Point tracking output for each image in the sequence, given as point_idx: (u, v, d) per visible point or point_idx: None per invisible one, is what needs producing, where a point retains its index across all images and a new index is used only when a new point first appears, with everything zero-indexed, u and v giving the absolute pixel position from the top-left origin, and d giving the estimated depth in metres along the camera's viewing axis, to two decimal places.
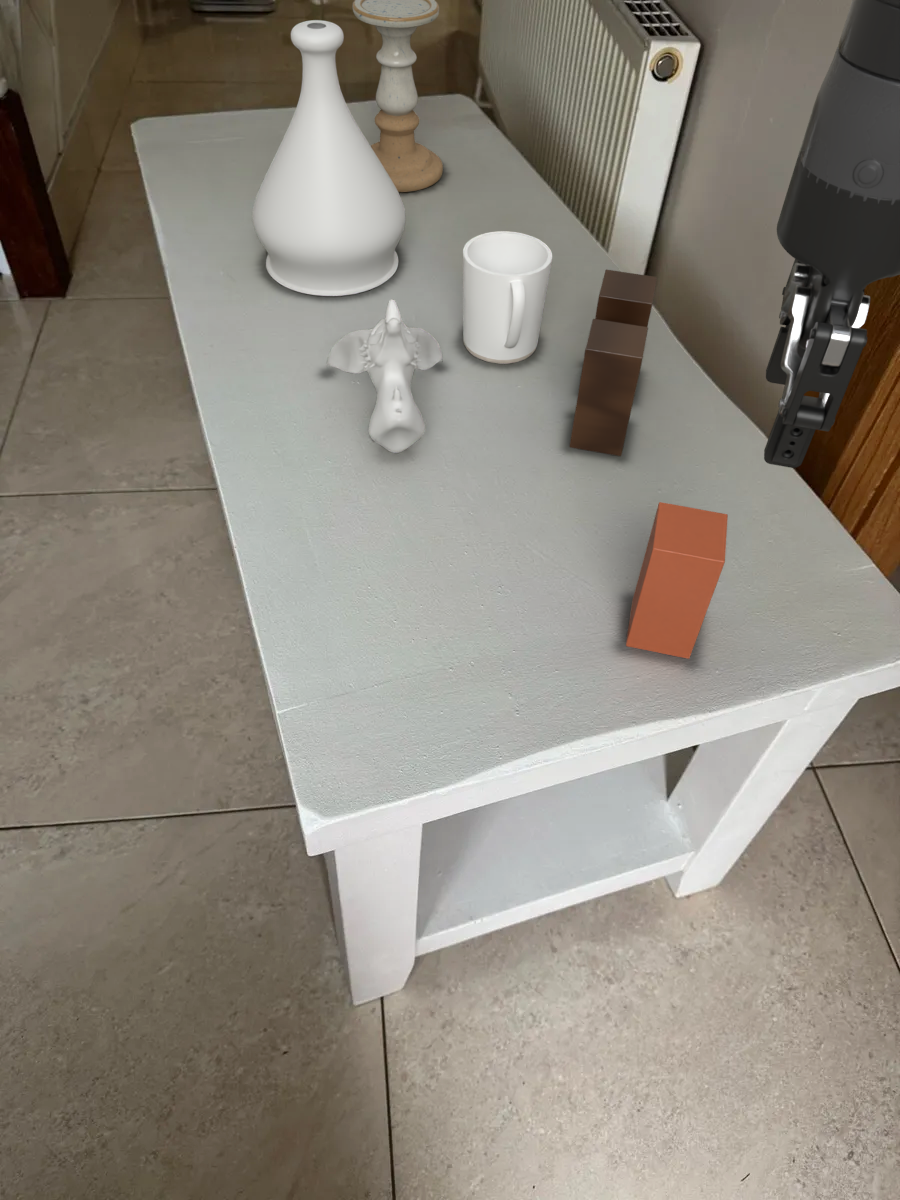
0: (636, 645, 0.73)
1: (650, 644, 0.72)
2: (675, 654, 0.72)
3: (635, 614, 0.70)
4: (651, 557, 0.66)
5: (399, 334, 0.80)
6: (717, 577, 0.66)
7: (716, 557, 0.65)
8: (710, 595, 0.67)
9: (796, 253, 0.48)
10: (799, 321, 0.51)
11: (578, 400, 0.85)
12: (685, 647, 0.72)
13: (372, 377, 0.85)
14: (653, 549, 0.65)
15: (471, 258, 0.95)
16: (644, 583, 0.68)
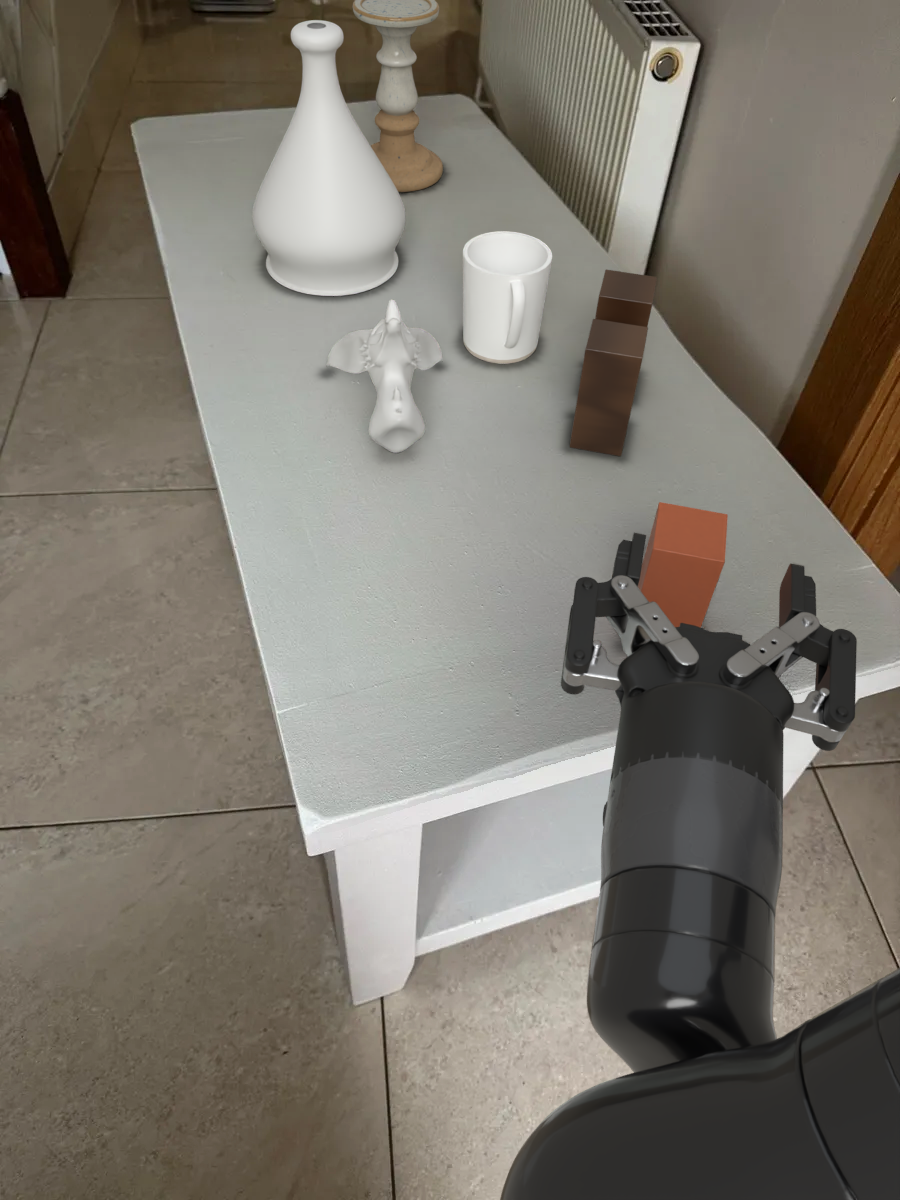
0: None
1: None
2: None
3: None
4: (651, 557, 0.66)
5: (399, 334, 0.80)
6: (717, 577, 0.66)
7: (716, 557, 0.65)
8: (710, 595, 0.67)
9: None
10: None
11: (578, 400, 0.85)
12: None
13: (372, 377, 0.85)
14: (653, 549, 0.65)
15: (471, 258, 0.95)
16: (644, 583, 0.68)
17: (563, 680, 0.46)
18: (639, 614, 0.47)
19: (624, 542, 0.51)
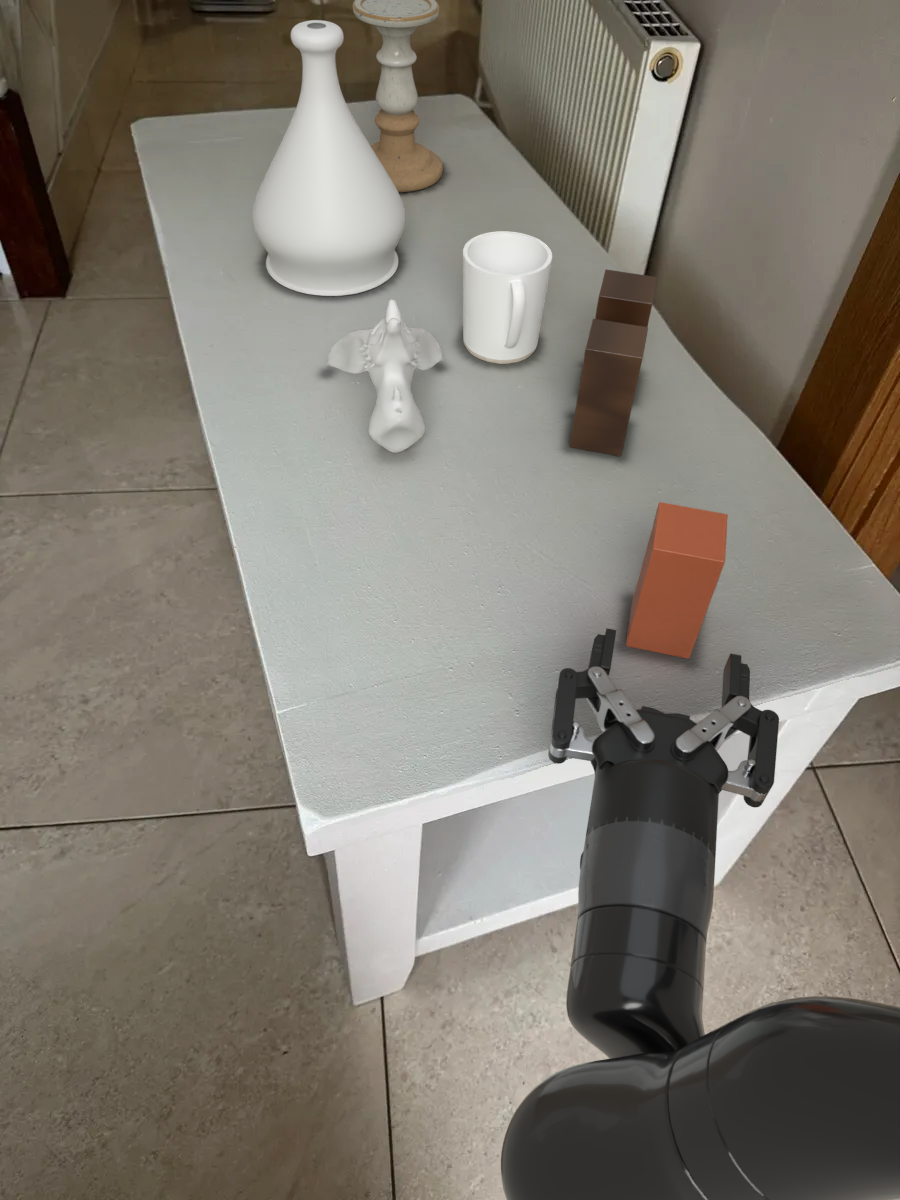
0: (636, 645, 0.73)
1: (650, 644, 0.72)
2: (675, 654, 0.72)
3: (635, 614, 0.70)
4: (651, 557, 0.66)
5: (399, 334, 0.80)
6: (717, 577, 0.66)
7: (716, 557, 0.65)
8: (710, 595, 0.67)
9: None
10: None
11: (578, 400, 0.85)
12: (685, 647, 0.72)
13: (372, 377, 0.85)
14: (653, 549, 0.65)
15: (471, 258, 0.95)
16: (644, 583, 0.68)
17: (550, 753, 0.59)
18: (609, 700, 0.60)
19: (599, 636, 0.64)
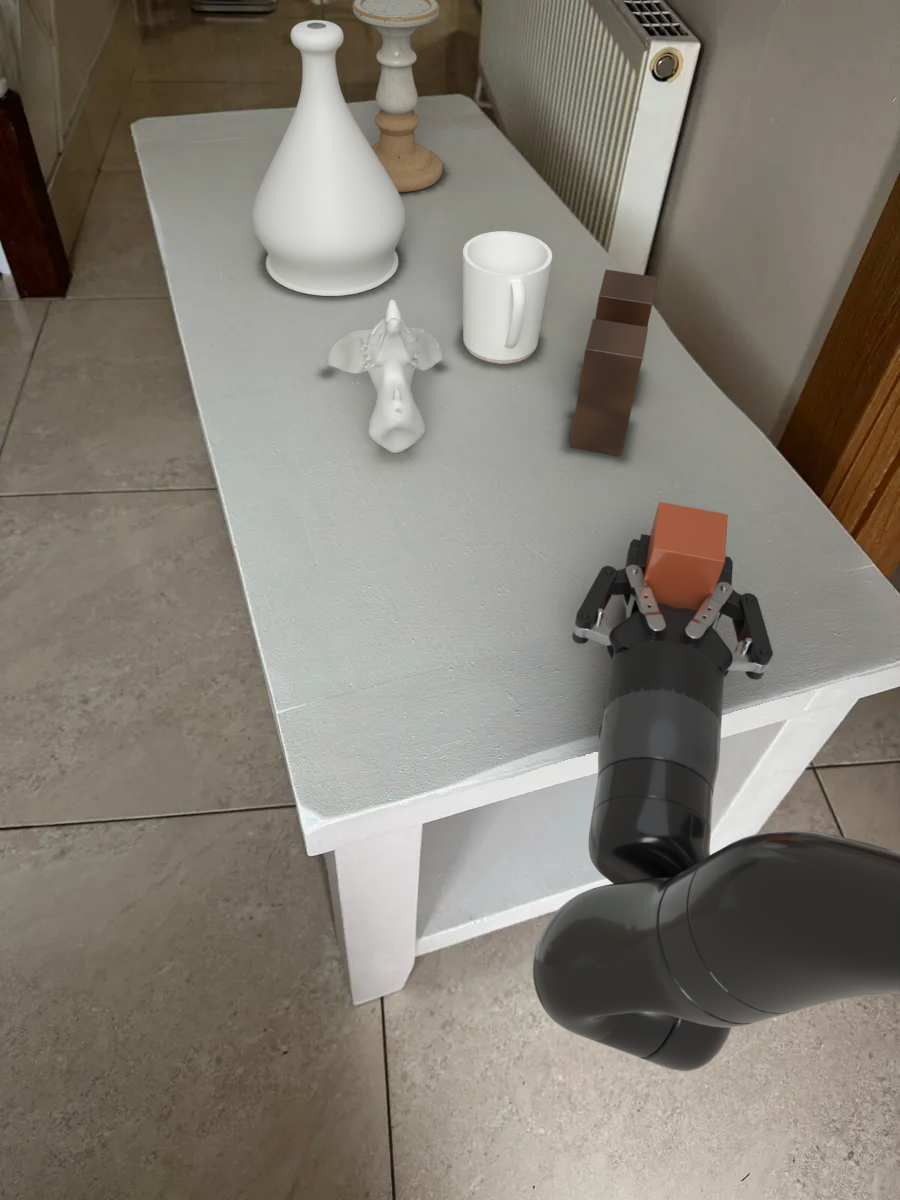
0: None
1: None
2: None
3: None
4: (651, 557, 0.66)
5: (399, 334, 0.80)
6: (717, 577, 0.66)
7: (716, 557, 0.65)
8: None
9: None
10: None
11: (578, 400, 0.85)
12: None
13: (372, 377, 0.85)
14: (653, 549, 0.65)
15: (471, 258, 0.95)
16: None
17: (573, 632, 0.66)
18: (636, 592, 0.66)
19: (634, 541, 0.71)
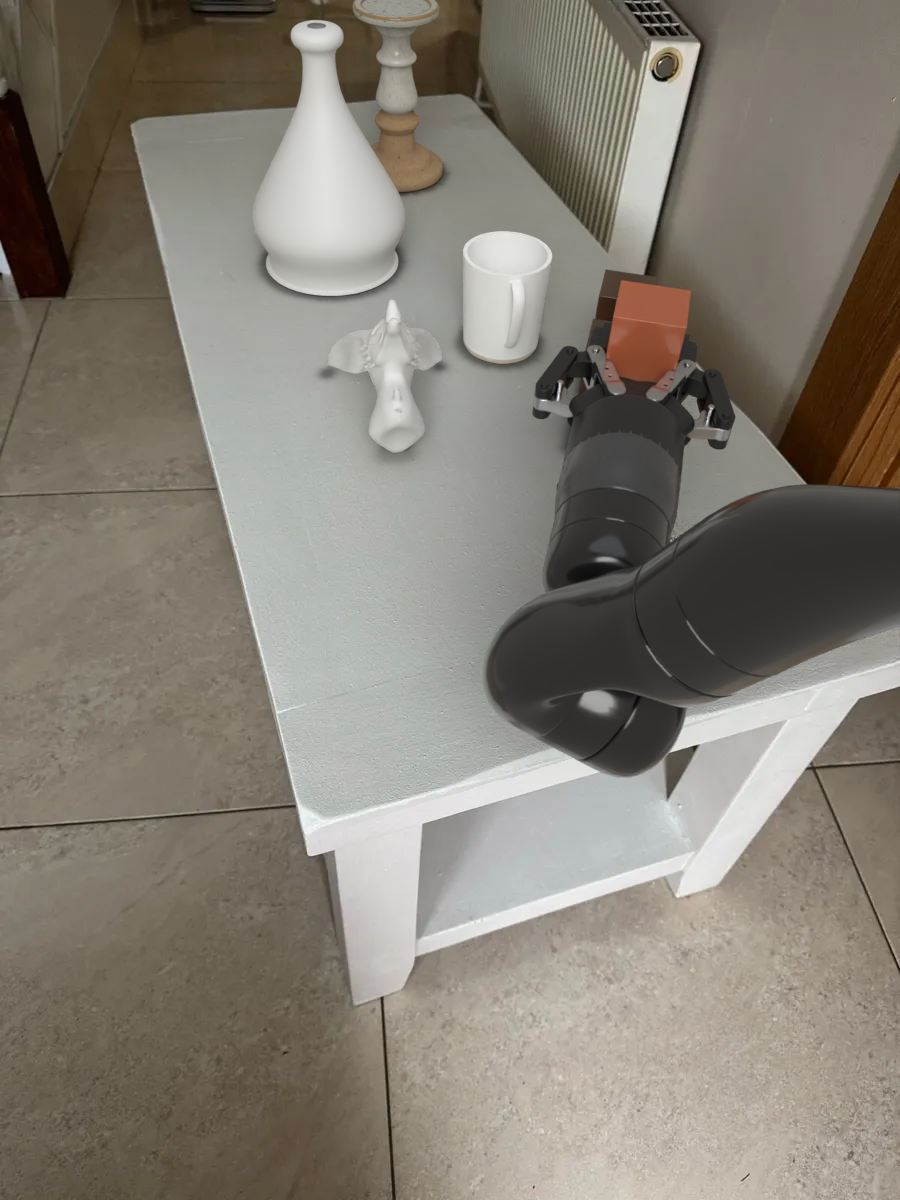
0: None
1: None
2: None
3: None
4: (612, 327, 0.64)
5: (399, 334, 0.80)
6: (679, 347, 0.64)
7: (678, 323, 0.63)
8: None
9: None
10: None
11: None
12: None
13: (372, 377, 0.85)
14: (614, 317, 0.64)
15: (471, 258, 0.95)
16: None
17: (533, 406, 0.65)
18: (596, 364, 0.65)
19: (597, 328, 0.69)
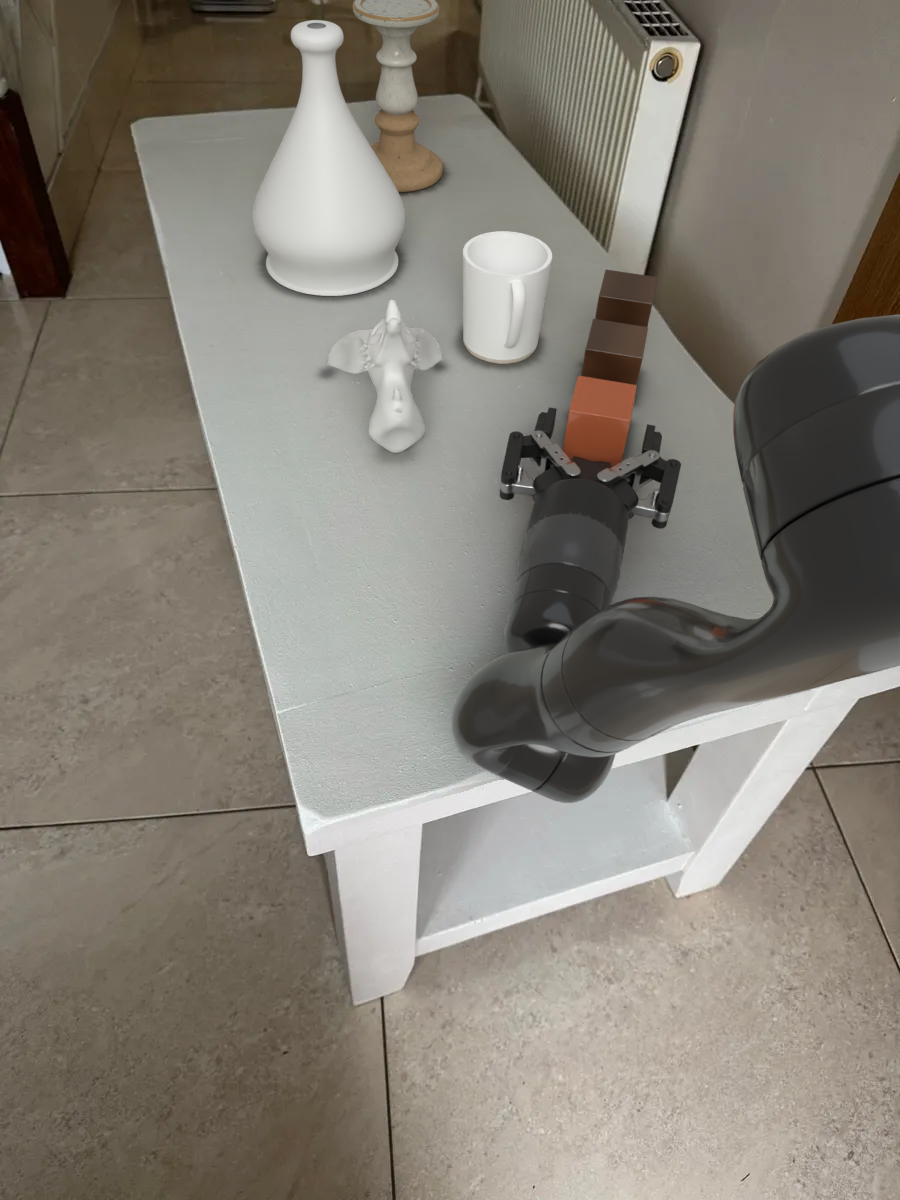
0: None
1: None
2: None
3: None
4: (568, 419, 0.76)
5: (399, 334, 0.80)
6: (625, 436, 0.76)
7: (623, 417, 0.75)
8: (621, 454, 0.77)
9: None
10: None
11: None
12: None
13: (372, 377, 0.85)
14: (569, 411, 0.75)
15: (471, 258, 0.95)
16: (564, 445, 0.78)
17: (500, 491, 0.76)
18: (547, 450, 0.76)
19: (543, 413, 0.80)
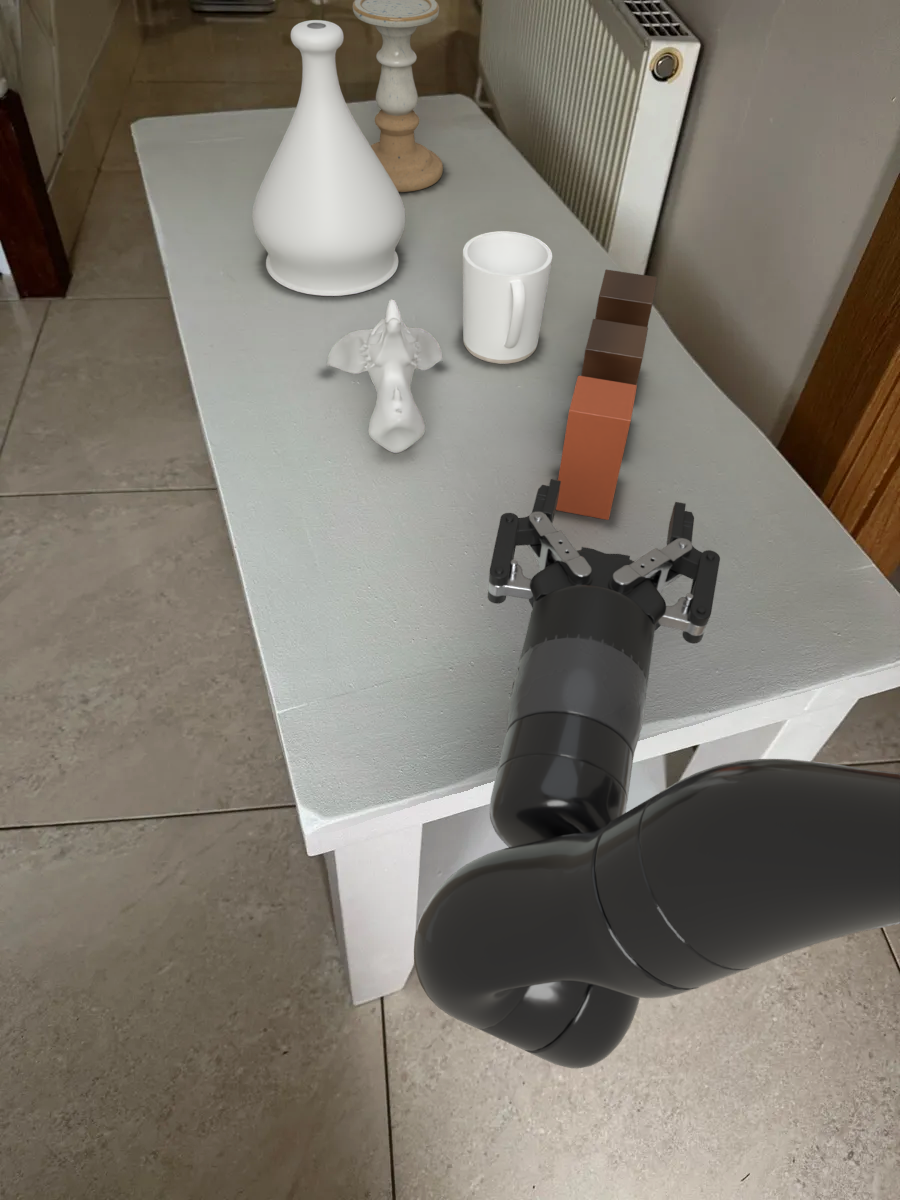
0: (562, 508, 0.83)
1: (574, 506, 0.82)
2: (596, 516, 0.83)
3: (559, 477, 0.80)
4: (568, 419, 0.76)
5: (399, 334, 0.80)
6: (625, 436, 0.76)
7: (623, 417, 0.75)
8: (621, 454, 0.77)
9: None
10: None
11: None
12: (604, 508, 0.82)
13: (372, 377, 0.85)
14: (569, 411, 0.75)
15: (471, 258, 0.95)
16: (564, 445, 0.78)
17: (488, 592, 0.59)
18: (548, 540, 0.59)
19: (543, 487, 0.64)
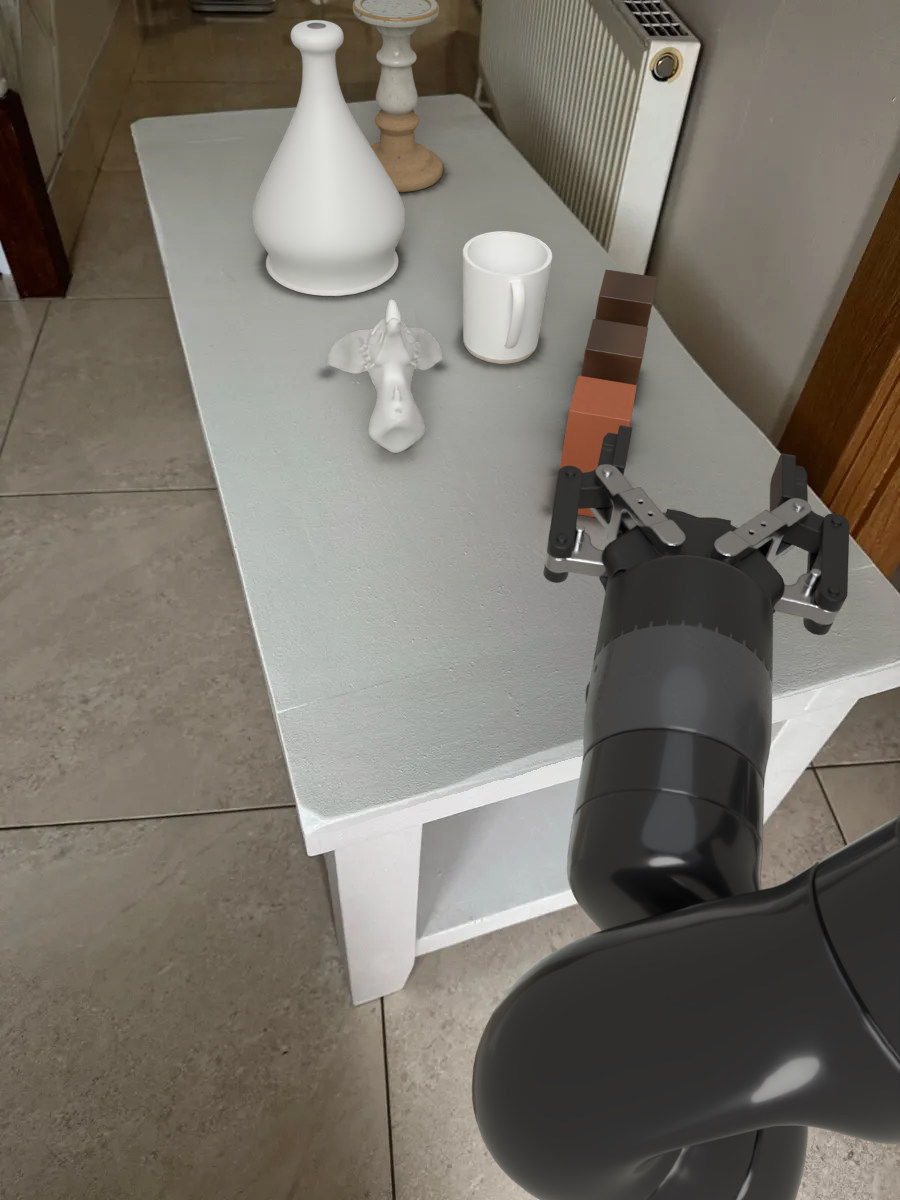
0: None
1: None
2: None
3: None
4: (568, 419, 0.76)
5: (399, 334, 0.80)
6: None
7: (623, 417, 0.75)
8: None
9: None
10: None
11: None
12: None
13: (372, 377, 0.85)
14: (569, 411, 0.75)
15: (471, 258, 0.95)
16: (564, 445, 0.78)
17: (545, 568, 0.45)
18: (624, 499, 0.45)
19: (610, 435, 0.50)
